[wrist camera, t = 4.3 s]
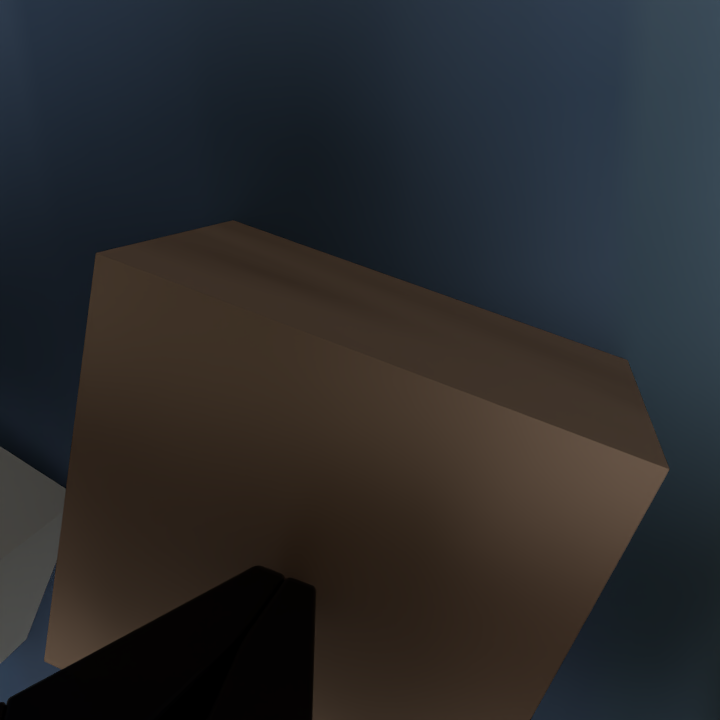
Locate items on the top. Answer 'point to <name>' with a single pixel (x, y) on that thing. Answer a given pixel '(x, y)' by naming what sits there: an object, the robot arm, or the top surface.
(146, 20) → the top surface
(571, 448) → the walnut block
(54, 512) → the grey block marked
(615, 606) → the top surface
